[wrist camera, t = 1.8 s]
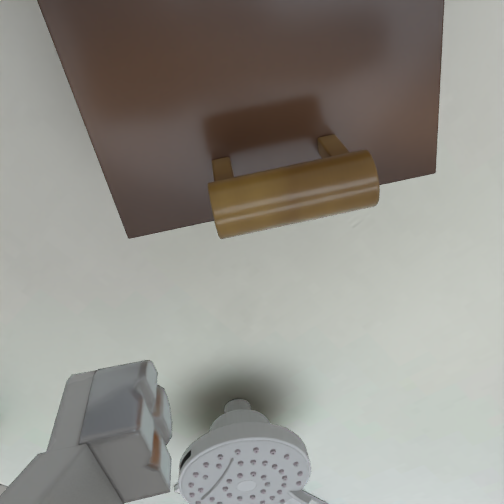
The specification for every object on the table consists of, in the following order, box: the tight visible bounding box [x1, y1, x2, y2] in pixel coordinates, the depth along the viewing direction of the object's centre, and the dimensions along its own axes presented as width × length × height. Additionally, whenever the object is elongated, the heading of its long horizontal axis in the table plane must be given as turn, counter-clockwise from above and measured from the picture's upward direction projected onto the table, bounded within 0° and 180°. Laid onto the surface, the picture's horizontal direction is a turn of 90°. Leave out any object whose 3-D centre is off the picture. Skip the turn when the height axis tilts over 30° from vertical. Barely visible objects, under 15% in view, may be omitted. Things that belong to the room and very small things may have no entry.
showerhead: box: [178, 399, 311, 504], centre depth 35 cm, size 9×7×10 cm
